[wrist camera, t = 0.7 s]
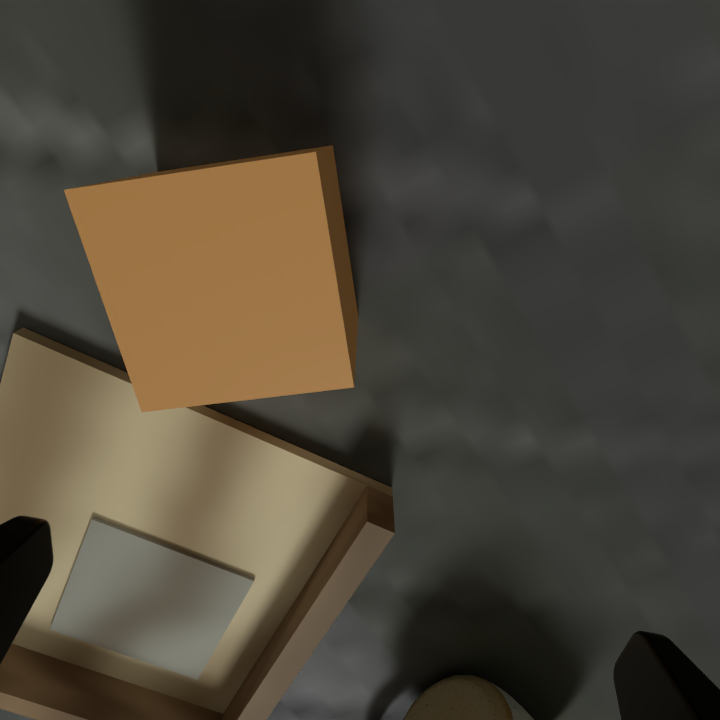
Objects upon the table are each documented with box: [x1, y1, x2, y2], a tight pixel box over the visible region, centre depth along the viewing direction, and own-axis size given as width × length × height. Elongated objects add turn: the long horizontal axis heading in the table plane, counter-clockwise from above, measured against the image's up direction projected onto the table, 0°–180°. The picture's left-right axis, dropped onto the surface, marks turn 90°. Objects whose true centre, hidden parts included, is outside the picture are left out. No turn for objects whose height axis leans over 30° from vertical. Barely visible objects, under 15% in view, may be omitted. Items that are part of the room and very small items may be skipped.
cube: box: [64, 145, 358, 412], centre depth 16 cm, size 6×6×6 cm
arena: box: [0, 328, 395, 720], centre depth 23 cm, size 16×18×3 cm
